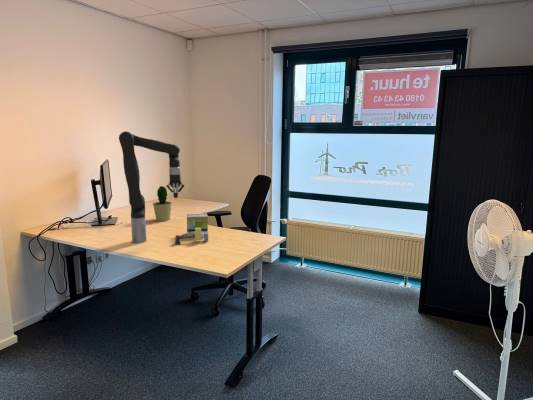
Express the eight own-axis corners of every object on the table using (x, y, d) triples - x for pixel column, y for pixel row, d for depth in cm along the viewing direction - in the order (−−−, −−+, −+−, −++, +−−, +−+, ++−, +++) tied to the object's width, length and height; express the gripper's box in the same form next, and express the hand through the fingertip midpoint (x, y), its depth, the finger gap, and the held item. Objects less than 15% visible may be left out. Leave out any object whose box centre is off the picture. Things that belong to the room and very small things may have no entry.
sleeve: (195, 240, 256) (194, 229, 255) (194, 238, 261) (194, 227, 259) (202, 240, 258) (202, 228, 256) (201, 238, 262) (201, 227, 261)
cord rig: (176, 244, 252) (175, 236, 251) (175, 242, 258) (174, 233, 256) (208, 242, 259) (208, 233, 258) (207, 239, 264) (207, 231, 263)
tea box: (187, 236, 272) (186, 216, 269) (187, 233, 281) (186, 213, 279) (208, 235, 274) (207, 216, 272) (207, 232, 284) (207, 213, 281)
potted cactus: (151, 219, 323) (149, 185, 317) (168, 217, 332) (166, 183, 327) (157, 222, 311) (156, 187, 305) (175, 220, 320) (173, 185, 315)
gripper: (165, 174, 255) (166, 199, 259) (185, 173, 260) (185, 198, 263) (164, 173, 262) (165, 197, 266) (183, 172, 267) (184, 196, 270)
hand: (175, 197), depth 264 cm, fingers closed
